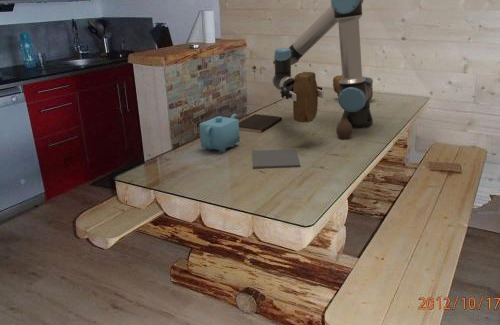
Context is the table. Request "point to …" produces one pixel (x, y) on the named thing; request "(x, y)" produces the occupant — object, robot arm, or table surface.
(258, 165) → the mat
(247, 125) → the hardcover book
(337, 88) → the rough brown rock
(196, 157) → the table surface
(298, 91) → the block
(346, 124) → the vase
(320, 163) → the table surface
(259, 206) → the table surface
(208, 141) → the teapot
